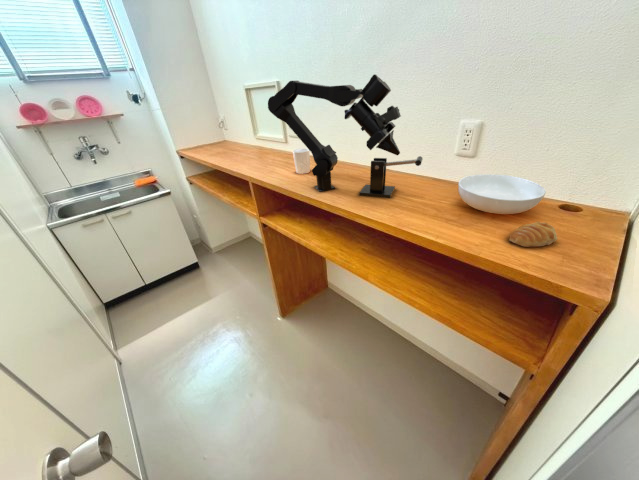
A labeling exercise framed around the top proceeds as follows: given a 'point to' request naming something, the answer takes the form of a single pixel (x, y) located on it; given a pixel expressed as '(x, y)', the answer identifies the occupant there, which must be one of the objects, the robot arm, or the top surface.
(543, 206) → the top surface
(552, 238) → the pastry
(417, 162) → the lever
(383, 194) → the bracket
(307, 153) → the white cup
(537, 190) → the serving bowl
